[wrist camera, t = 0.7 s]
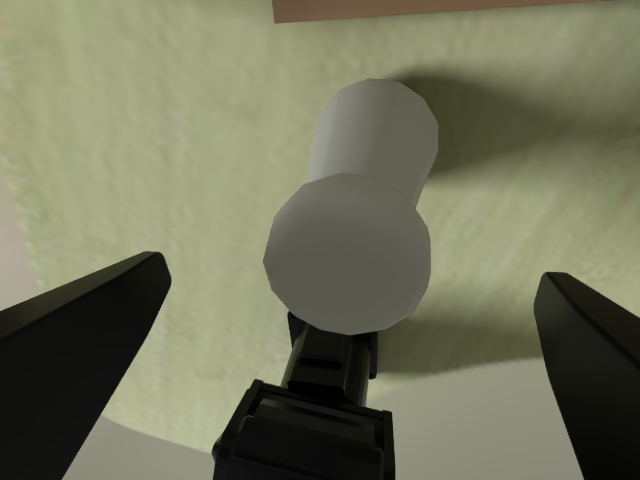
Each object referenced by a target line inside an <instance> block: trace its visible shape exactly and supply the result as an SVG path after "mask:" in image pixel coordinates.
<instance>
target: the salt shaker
mask: <svg viewBox="0 0 640 480" xmlns="http://www.w3.org/2000/svg"><path fill="white" fill-rule="evenodd" d="M438 128H439V124H438V122H437V120H436V119H435V117H434V115H433V113H432V112H431V110H430V108H429V106H428V105H427V103H426V101H425V99H424V98H423V97H421V96H420V95H418V94H417V93H415V92H414V91H413V90H411V89H410V88H408V87H407V86H405V85H404V84H402V83H401V82H399V81H394V80H380V79H366V80H363V81H361V82H358V83H356V84H353V85H351V86H348V87H346V88H343V89H341V90H339V91H338V92H337V93H336V95H335V96H334V97H333V98H332V99H331V100H330V102H329V103H328V104H327V105H326V106H325V107H324V108H323V110H322V111H321V112H320V115H319V119H318V122H317V126H316V130H315V133H314V137H313V142H312V149H311V156H310V162H309V169H308V176H307V183H306V184H304V185H303V186H302V187H301V188H300V189H299V190H298V191H297V192H296V193H295V194H294V195H293V196H292V197H291V198H290V199H289V200H288V201H287V202H286V203H285V205H284V206H283V207H282V208H281V209H280V211H279V212H278V213H277V215H276V216H275V217H274V220H273V224H272V228H271V232H270V236H269V239H268V243H267V247H266V251H265V255H264V259H263V264H264V267H265V270H266V273H267V276H268V280H269V283H270V286H271V289H272V291H273V292H274V293H275V294H276V295H277V296H278V298H279V299H280V300H281V301H282V302H283V303H284V305H285V306H286V307H287V308H288V309H289V310H290V312H291V313H292V314H294V315H295V316H296V317H298V318H300V319H302V320H304V321H305V322H307V323H309V324H311V325H313V326H315V327H317V328H319V329H320V330H325V331H330V332H335V333H341V334H346V335H354V334H361V333H367V332H373V331H379V330H386V329H387V328H389V327H391V326H392V325H394V324H396V323H398V322H399V321H401V320H403V319H405V318H406V317H408V316H410V315H411V314H413V312H414V310H415V309H416V307H417V305H418V303H419V302H420V300H421V298H422V297H423V295H424V293H425V291H426V290H427V288H428V283H429V279H430V274H431V243H430V236H429V232H428V228H427V226H426V224H425V223H424V221H423V220H422V218H421V217H420V215H419V213H418V212H417V210H416V209H415V208H416V205H417V203H418V200H419V197H420V195H421V192H422V189H423V187H424V185H425V182H426V180H427V178H428V175H429V173H430V171H431V168H432V166H433V163H434V161H435V159H436V156H437V154H438Z"/></svg>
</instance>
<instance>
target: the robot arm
mask: <svg viewBox="0 0 640 480" xmlns="http://www.w3.org/2000/svg"><path fill="white" fill-rule="evenodd" d="M170 286H171V275H170V272H169V270H168V267H167V264H166V261H165V258H164V256H163V254H162V253H160V252H151V251H145V252H142V253H140V254H137V255H135V256H132V257H130V258H128V259H125V260H123V261H120V262H118V263H116V264H113V265H111V266H108V267H106V268H103V269H101V270H99V271H96V272H94V273H91V274H89V275H87V276H84V277H82V278H79V279H77V280H74V281H72V282H70V283H67V284H65V285H62V286H60V287H58V288H55V289H53V290H50V291H48V292H45V293H43V294H41V295H38V296H36V297H34V298H31V299H29V300H26V301H24V302H21V303H19V304H16V305H14V306H12V307H10V308H7V309H4V310H2V311H0V480H62V478H63V476H64V475H65V473H66V472H67V470H68V468H69V467H70V465H71V463H72V462H73V460H74V458H75V457H76V455H77V453H78V452H79V450H80V448H81V446H82V445H83V443H84V441H85V440H86V438H87V436H88V435H89V433H90V431H91V430H92V428H93V426H94V425H95V423H96V421H97V420H98V418H99V416H100V415H101V413H102V411H103V410H104V408H105V406H106V405H107V403H108V401H109V400H110V398H111V396H112V395H113V393H114V391H115V390H116V388H117V386H118V385H119V383H120V381H121V379H122V378H123V376H124V374H125V373H126V371H127V369H128V368H129V366H130V364H131V363H132V361H133V359H134V358H135V356H136V354H137V353H138V351H139V349H140V348H141V346H142V344H143V343H144V341H145V339H146V337H147V335H148V333H149V331H150V329H151V327H152V325H153V323H154V321H155V319H156V317H157V315H158V312H159V310H160V308H161V306H162V304H163V302H164V300H165V297H166V295H167V293H168V291H169V289H170ZM534 315H535V319H536V324H537V328H538V333H539V338H540V342H541V347H542V352H543V356H544V361H545V365H546V369H547V373H548V377H549V380H550V383H551V387H552V390H553V392H554V395H555V398H556V401H557V404H558V407H559V409H560V412H561V415H562V418H563V421H564V424H565V427H566V429H567V432H568V435H569V438H570V441H571V443H572V446H573V449H574V452H575V455H576V458H577V461H578V463H579V466H580V469H581V472H582V475H583V478H584V480H640V318H639V317H637V316H636V315H634V314H633V313H631V312H629V311H628V310H626V309H624V308H623V307H621V306H620V305H618V304H616V303H615V302H613V301H612V300H610V299H608V298H607V297H605V296H603V295H602V294H600V293H599V292H597V291H595V290H594V289H592V288H590V287H589V286H587V285H586V284H584V283H582V282H581V281H579V280H578V279H576V278H574V277H573V276H571V275H569V274H568V273H564V272H545V273H544V274H543V275H542V277H541V280H540V283H539V287H538V290H537V294H536V297H535V301H534ZM287 316H288V323H289V330H290V336H291V343H292V352H291V355H290V358H289V361H288V364H287V367H286V370H285V373H284V376H283V379H282V382H281V385H280V386H276V385H272V384H268V383H264V382H263V381H262V380H258V379H255V380H254V381H253V383H252V385H251V387H250V389H247V391H246V392H245V394H244V396H243V398H242V400H241V401H240V403H239V405H238V407H237V409H236V410H235V412H234V414H233V416H232V418H231V419H230V421H229V423H228V425H227V427H226V428H225V430H224V432H223V433H222V434H221V436H220V437H219V438H218V439H217V441H216V442H215V444H214V446H213V449H212V456H213V459H214V461H215V468H214V475H213V480H395V454H394V440H393V439H394V438H393V422H392V412H390V411H386V410H383V411H379V410H375V409H371V408H367V407H366V399H367V389H368V380H369V379H375V378H376V375H377V340H378V331H373V332H367V333H361V334H354V335H346V334H341V333H335V332H330V331H325V330H320V329H319V328H317V327H315V326H313V325H311V324H309V323H307V322H305V321H304V320H302V319H300V318H298V317H296V316H295V315H294V314H292V313H291V312H290V310H289V312H288V315H287Z"/></svg>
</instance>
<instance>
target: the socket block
mask: <svg viewBox="0 0 640 480" xmlns="http://www.w3.org/2000/svg"><path fill="white" fill-rule="evenodd" d="M594 1H609V0H272V4H273V13H274V22H275V23H289V22H303V21H318V20H332V19H347V18H362V17H376V16H391V15H405V14H420V13H434V12H449V11H463V10H478V9H493V8H507V7H522V6H536V5H551V4H565V3H580V2H594Z"/></svg>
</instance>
